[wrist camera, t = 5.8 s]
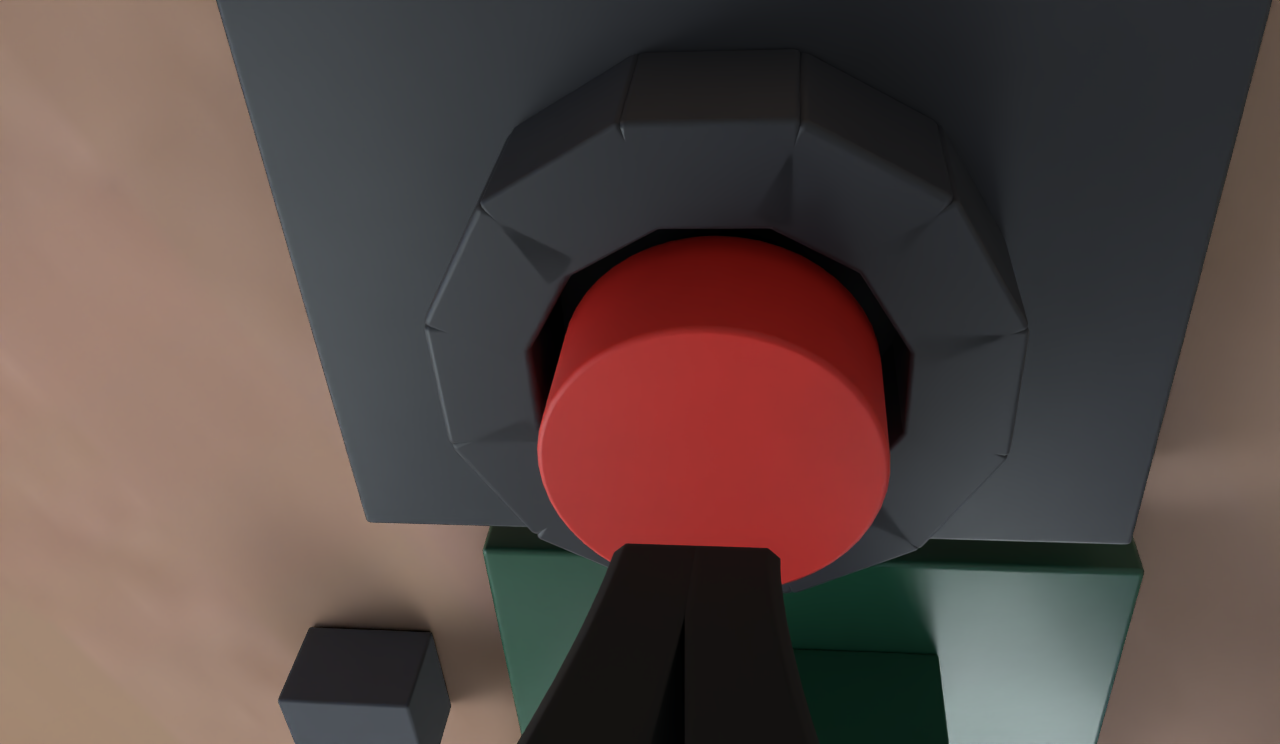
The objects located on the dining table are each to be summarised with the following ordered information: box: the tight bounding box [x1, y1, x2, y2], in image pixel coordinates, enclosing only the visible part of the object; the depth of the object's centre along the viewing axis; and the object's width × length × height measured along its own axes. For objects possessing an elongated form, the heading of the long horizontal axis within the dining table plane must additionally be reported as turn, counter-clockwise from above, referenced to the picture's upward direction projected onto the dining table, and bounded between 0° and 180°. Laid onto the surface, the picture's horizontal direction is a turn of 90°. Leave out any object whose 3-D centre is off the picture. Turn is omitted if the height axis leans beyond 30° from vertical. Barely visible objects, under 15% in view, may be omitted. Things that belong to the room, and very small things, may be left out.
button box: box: [216, 0, 1272, 593], centre depth 14 cm, size 11×8×4 cm
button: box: [537, 236, 890, 584], centre depth 12 cm, size 4×4×2 cm
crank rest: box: [278, 627, 451, 744], centre depth 21 cm, size 2×2×2 cm
